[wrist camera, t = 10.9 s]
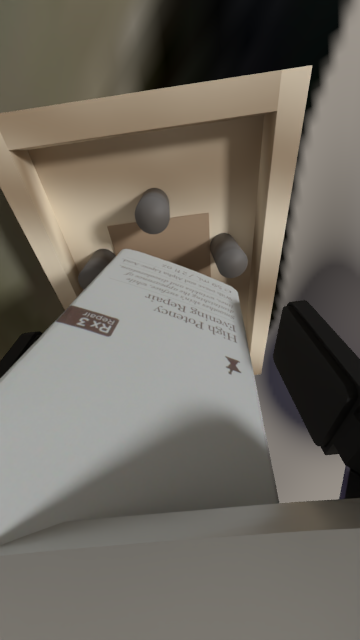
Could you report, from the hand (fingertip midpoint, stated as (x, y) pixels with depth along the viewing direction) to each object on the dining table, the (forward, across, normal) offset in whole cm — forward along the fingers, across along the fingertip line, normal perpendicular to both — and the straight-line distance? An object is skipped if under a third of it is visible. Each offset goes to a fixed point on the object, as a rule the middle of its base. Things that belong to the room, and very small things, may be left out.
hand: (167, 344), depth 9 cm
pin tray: (+7, 0, 0) cm, 7 cm away
